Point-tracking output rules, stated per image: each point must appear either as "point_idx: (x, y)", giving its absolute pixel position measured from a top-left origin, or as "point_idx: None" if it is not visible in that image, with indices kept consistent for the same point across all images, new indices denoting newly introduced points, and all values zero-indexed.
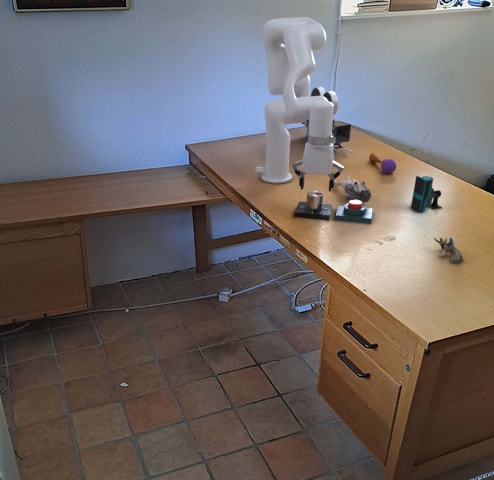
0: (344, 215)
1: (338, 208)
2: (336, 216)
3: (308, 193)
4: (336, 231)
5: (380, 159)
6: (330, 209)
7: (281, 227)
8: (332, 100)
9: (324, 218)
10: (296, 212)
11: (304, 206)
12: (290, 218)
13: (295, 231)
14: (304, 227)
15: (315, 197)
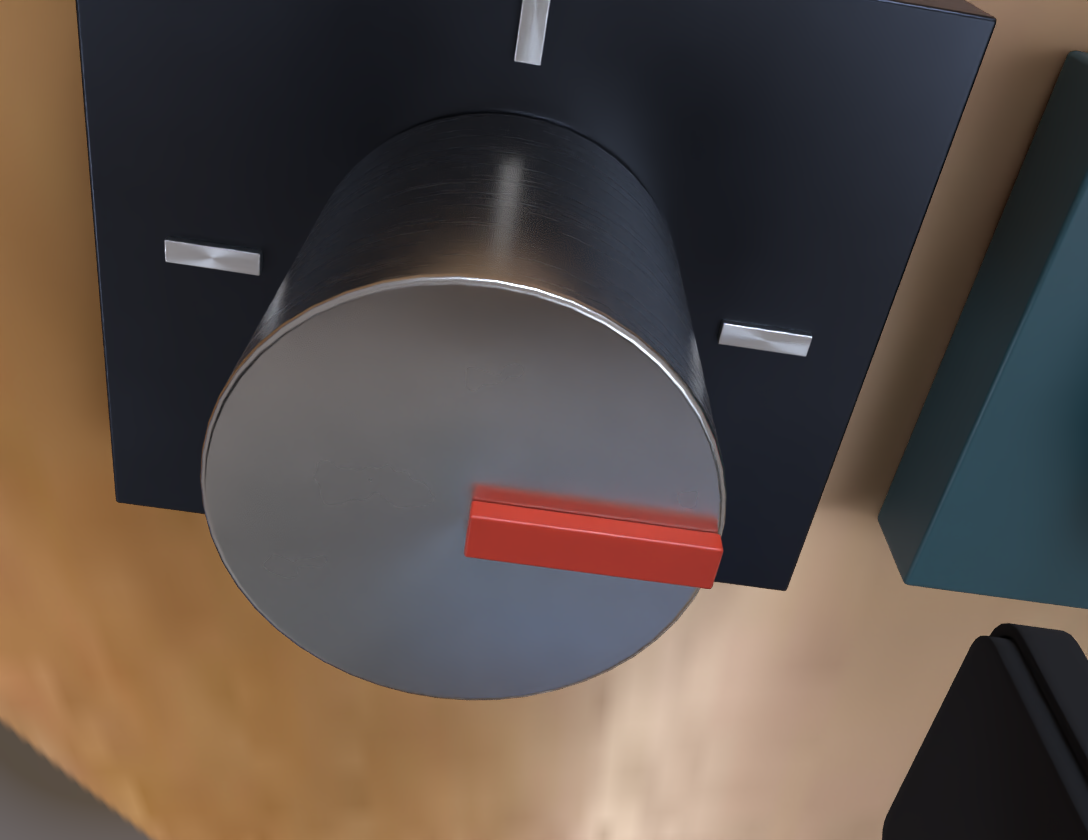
0: (1072, 585)
1: (1068, 275)
2: (915, 572)
3: (250, 537)
4: (814, 804)
5: None
6: (864, 343)
7: (45, 748)
8: None
9: None
10: (150, 504)
11: (264, 216)
12: (93, 483)
13: (262, 826)
14: (370, 733)
15: (481, 676)
